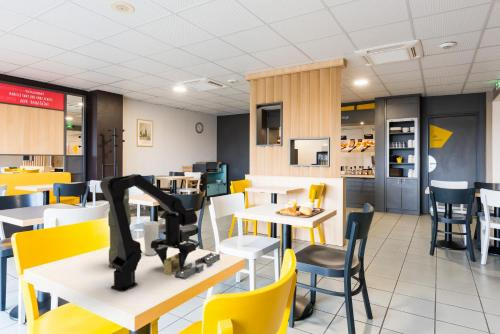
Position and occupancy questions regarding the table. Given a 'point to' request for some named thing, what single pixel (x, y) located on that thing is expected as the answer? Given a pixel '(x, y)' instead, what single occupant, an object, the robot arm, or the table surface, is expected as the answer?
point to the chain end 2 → (208, 259)
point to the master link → (171, 265)
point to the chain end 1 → (188, 271)
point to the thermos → (113, 233)
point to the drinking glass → (150, 236)
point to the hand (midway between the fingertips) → (173, 266)
